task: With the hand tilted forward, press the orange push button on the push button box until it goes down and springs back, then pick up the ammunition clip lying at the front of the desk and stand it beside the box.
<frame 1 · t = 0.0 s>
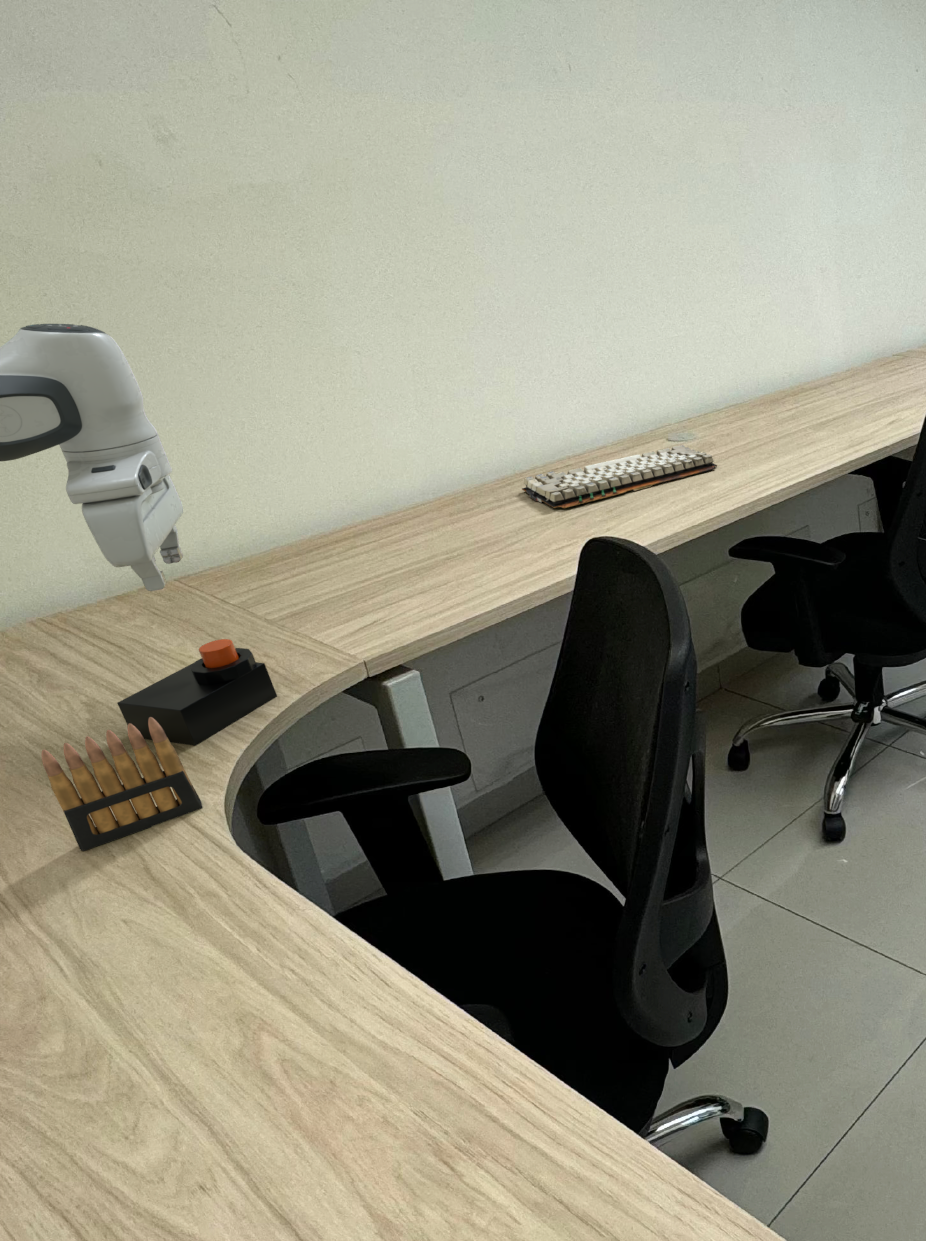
hand: (166, 574, 120), 20 cm above the table, tool pointing down, fingers open, 8 cm apart
push button box: (207, 716, 128), on the table
orange push button: (218, 654, 127), point 8 cm above the table, slide at 0.1 cm
ammunition clip: (143, 827, 108), on the table
mechanical keyboard: (622, 481, 213), on the table
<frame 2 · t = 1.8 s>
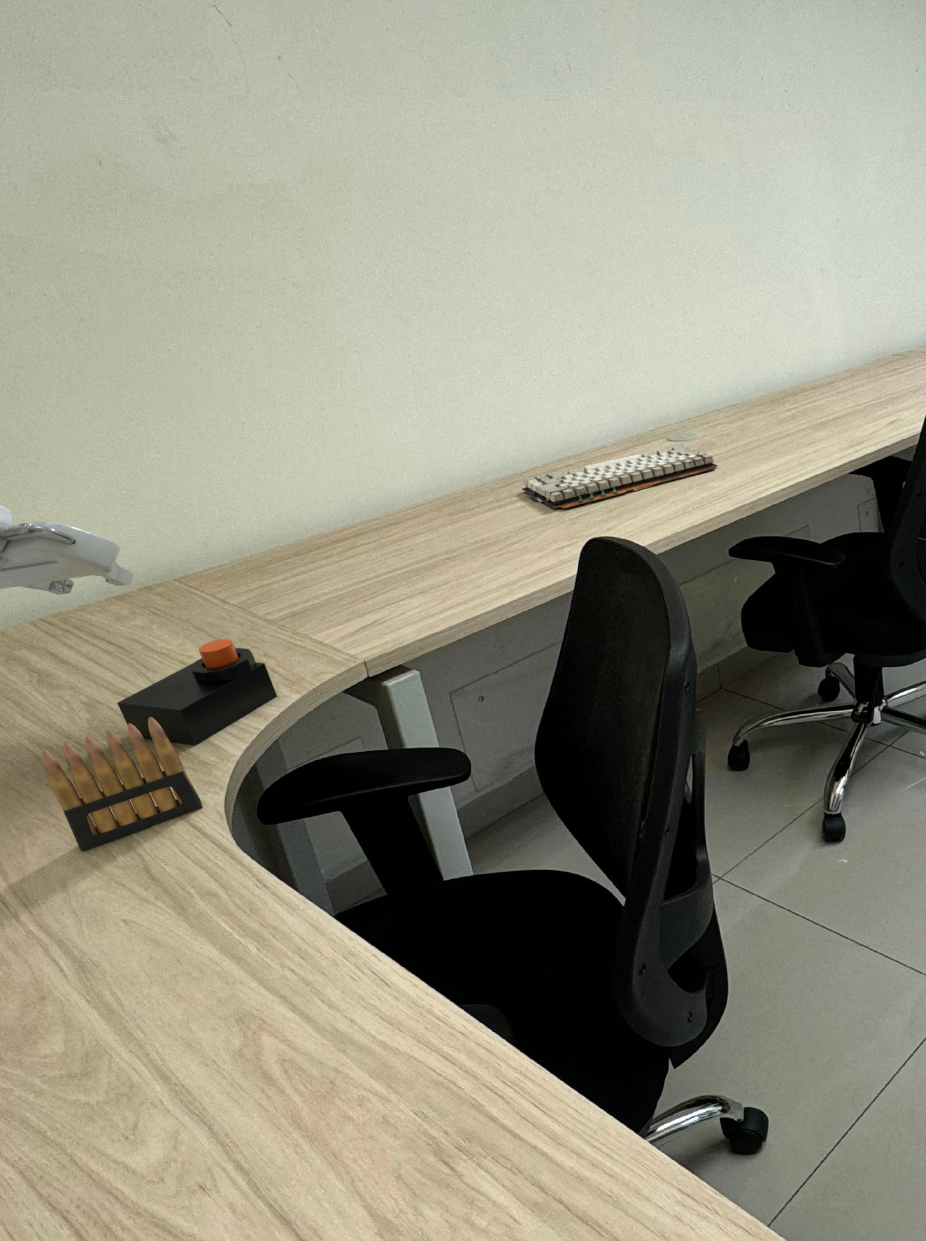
hand: (97, 584, 118), 20 cm above the table, tool tilted 45°, fingers open, 8 cm apart
nothing on the table moved.
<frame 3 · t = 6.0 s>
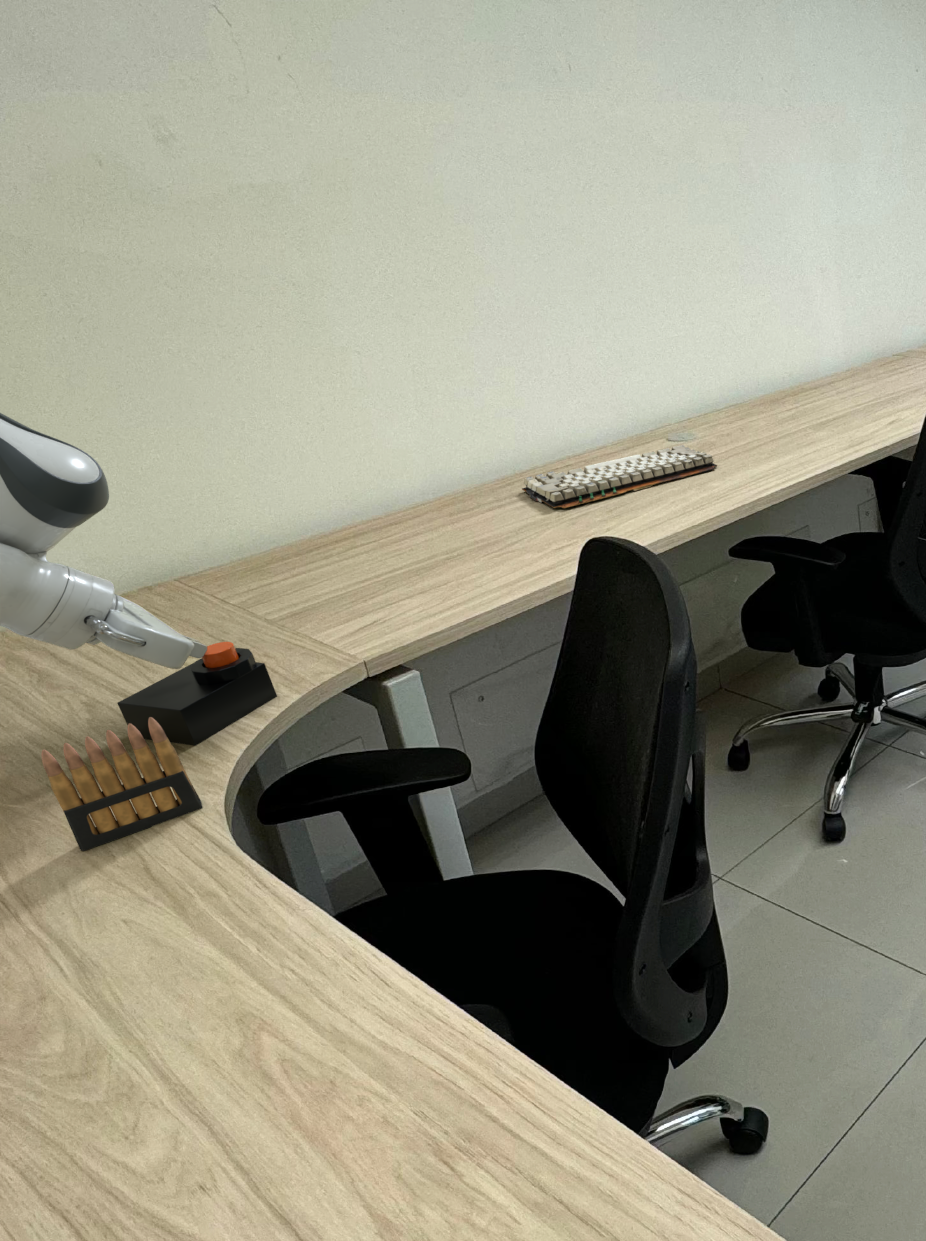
hand: (201, 650, 126), 9 cm above the table, tool tilted 45°, fingers closed, pressing on orange push button
orange push button: (220, 656, 127), point 7 cm above the table, slide at -0.3 cm, touching gripper
everything else where it was.
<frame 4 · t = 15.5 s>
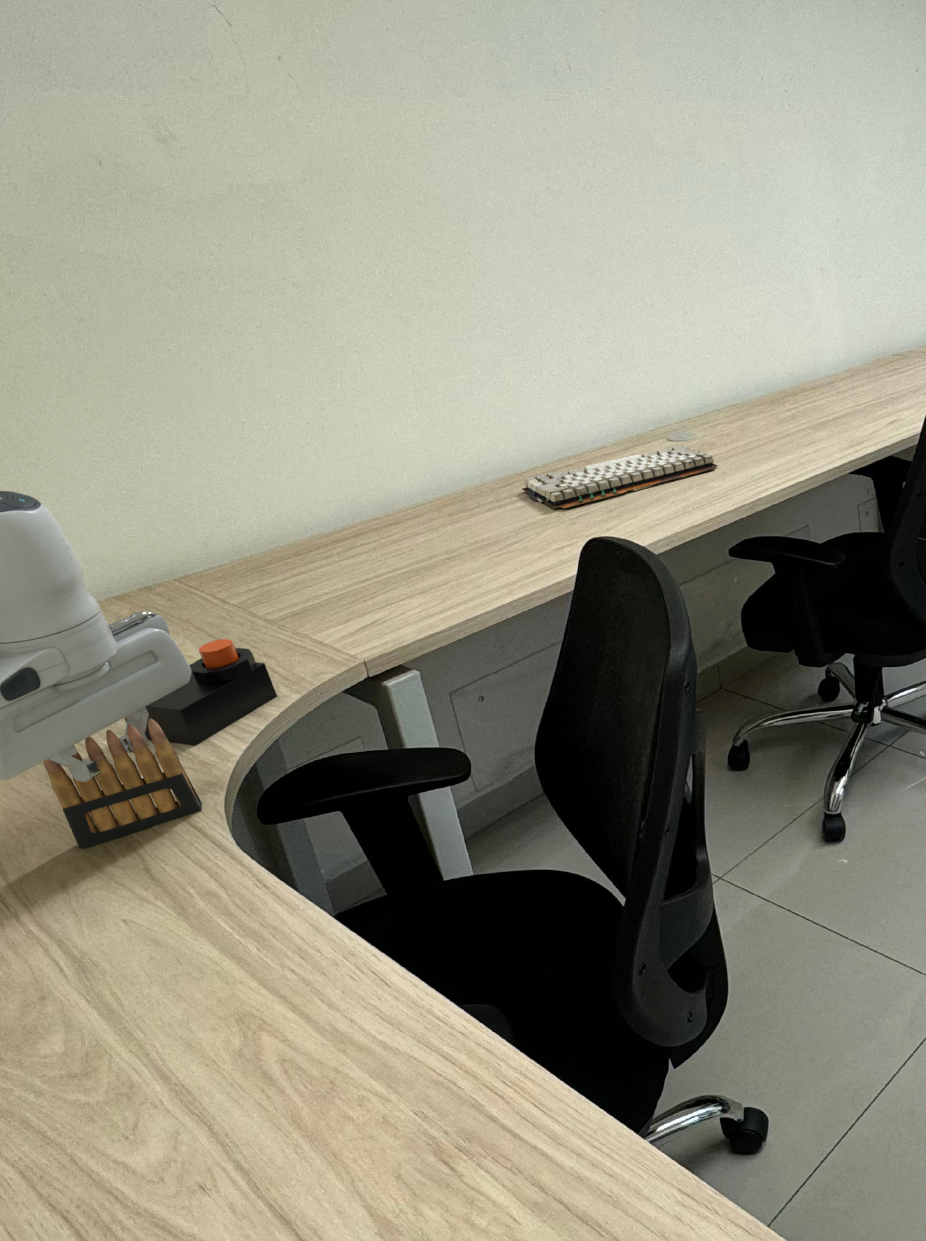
hand: (113, 763, 104), 8 cm above the table, tool pointing down, fingers closed on ammunition clip, 4 cm apart
orange push button: (218, 654, 127), point 8 cm above the table, slide at 0.1 cm
ammunition clip: (143, 827, 108), on the table, touching gripper
everything else where it was.
when the fingers open (8 cm above the table, at t = 22.5 s): ammunition clip stays where it is, on the table.
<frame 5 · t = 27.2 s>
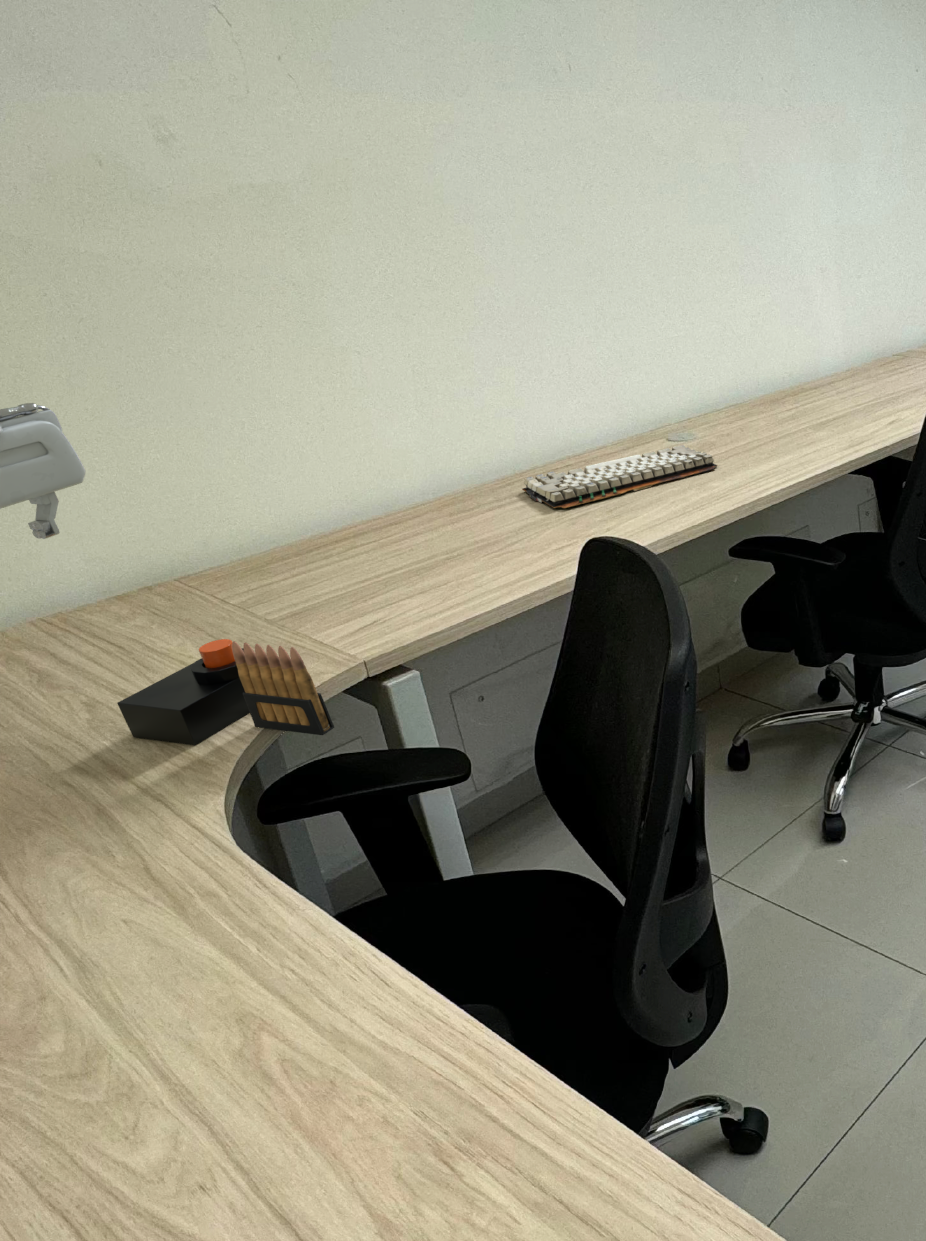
hand: (0, 553, 103), 29 cm above the table, tool pointing down, fingers open, 8 cm apart
ammunition clip: (295, 728, 125), on the table
everything else where it was.
at the end: orange push button pushed in 1.3 cm at the most during the clip, back to where it started at the end; orange push button slide at 0.1 cm; ammunition clip inside the target area on the table beside the push button box (0.1 cm from its centre), on the table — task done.
